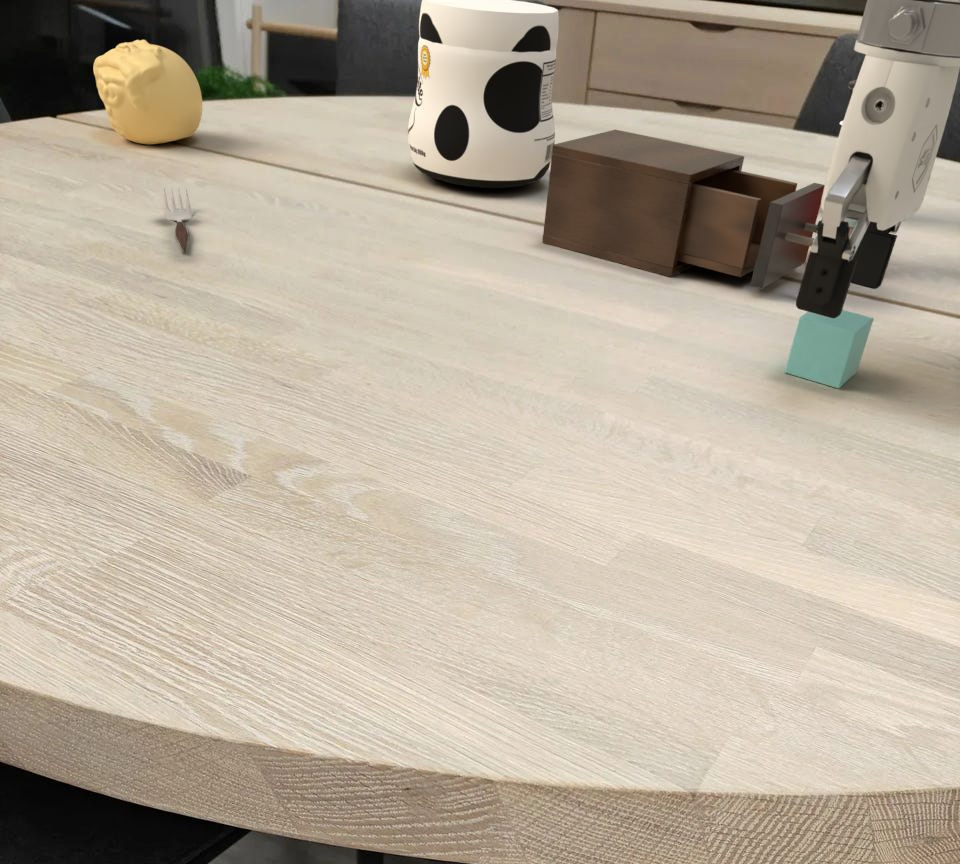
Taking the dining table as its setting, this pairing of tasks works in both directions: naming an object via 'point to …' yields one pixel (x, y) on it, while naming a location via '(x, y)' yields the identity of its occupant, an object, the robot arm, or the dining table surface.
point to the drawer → (749, 225)
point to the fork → (179, 218)
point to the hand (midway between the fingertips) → (838, 297)
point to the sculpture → (148, 92)
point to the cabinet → (626, 196)
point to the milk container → (484, 92)
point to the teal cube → (828, 347)
